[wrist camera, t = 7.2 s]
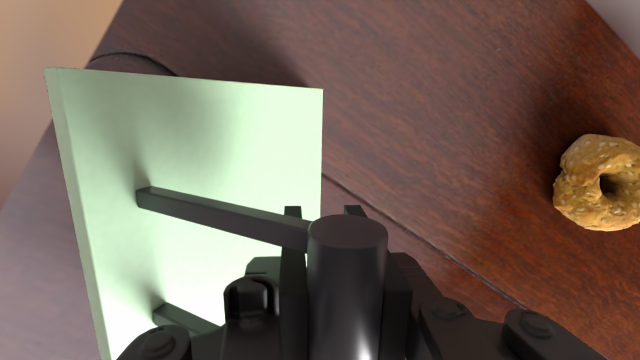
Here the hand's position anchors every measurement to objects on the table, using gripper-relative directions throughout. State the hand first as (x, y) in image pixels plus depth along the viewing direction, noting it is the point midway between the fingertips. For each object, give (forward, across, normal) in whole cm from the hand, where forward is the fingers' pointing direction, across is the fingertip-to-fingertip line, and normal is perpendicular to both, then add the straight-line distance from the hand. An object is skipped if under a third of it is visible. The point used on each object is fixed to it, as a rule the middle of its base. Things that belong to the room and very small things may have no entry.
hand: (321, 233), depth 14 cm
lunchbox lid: (+4, -4, 0) cm, 6 cm away
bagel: (+18, +32, -2) cm, 37 cm away
